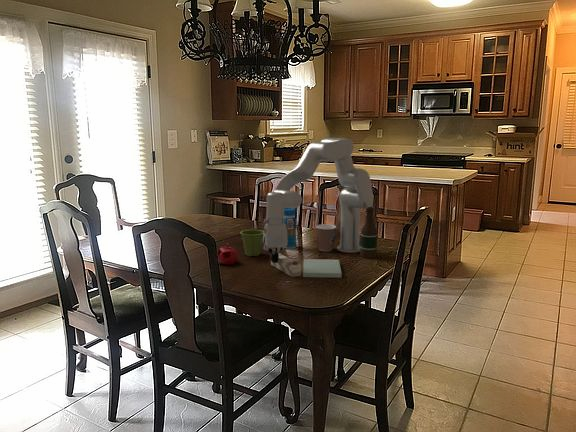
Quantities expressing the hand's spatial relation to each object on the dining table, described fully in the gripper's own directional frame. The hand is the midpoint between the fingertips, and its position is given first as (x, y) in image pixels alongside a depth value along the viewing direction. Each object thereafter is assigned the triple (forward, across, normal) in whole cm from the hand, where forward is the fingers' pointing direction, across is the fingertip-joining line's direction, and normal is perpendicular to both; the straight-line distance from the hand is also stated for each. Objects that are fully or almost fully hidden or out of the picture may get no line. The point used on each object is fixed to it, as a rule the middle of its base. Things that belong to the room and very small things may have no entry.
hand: (274, 262), depth 206 cm
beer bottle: (+3, +49, -2) cm, 50 cm away
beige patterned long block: (+3, +4, -3) cm, 6 cm away
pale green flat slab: (+3, +18, -9) cm, 21 cm away
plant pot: (+4, +2, +27) cm, 28 cm away
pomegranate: (+4, -14, +20) cm, 25 cm away
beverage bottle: (+3, +24, +31) cm, 40 cm away
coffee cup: (+3, +38, +18) cm, 43 cm away
